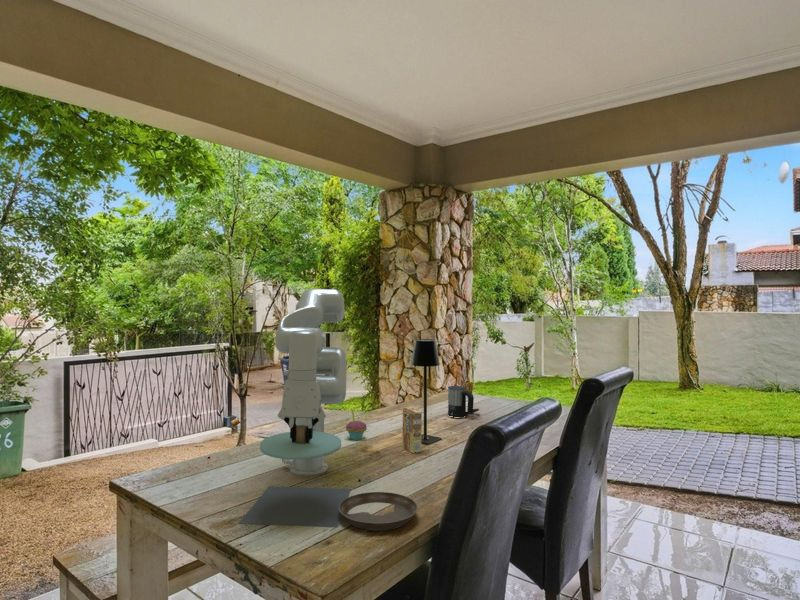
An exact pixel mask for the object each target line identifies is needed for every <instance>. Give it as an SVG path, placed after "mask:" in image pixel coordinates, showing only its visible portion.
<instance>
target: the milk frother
mask: <svg viewBox="0 0 800 600" xmlns="http://www.w3.org/2000/svg"><path fill="white" fill-rule="evenodd" d="M466 389H467V387H466V386H462V385H450V386H447V390H448V392H447V395H448V397H447V399H448V401H447V402H448V403H447V406H448V407H447V409H448V410H447V416H448V415H449V416H453V417H464V416H466V417H467V416H468V415H472V414H474V413H476V412H479V411H480V409H479V408H474V399H475V398H474V395H473V393H472V392H471V391H468V390H466ZM466 404H467V406H466ZM466 407H467V408H466Z"/></svg>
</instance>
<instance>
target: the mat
mask: <svg viewBox="0 0 800 600" xmlns="http://www.w3.org/2000/svg"><path fill="white" fill-rule="evenodd" d="M351 491H352V488H337V487H336V488H333V487H329V488H328V487H306V486H305V487H304V486H302V487H301V486H278V485H277V486H274V485H273V486H269V485H268V487H267V488H266V489H265V490H264V492H263V493H262V494H261V496H259V498H258V499H257V500H256V502H254V504H253V505H252V507H250V509H249V510H248V511H247V513H246V514H245V515H244V516H243V518H242V519H240V522H238V524H239V525H262V526H263V525H264V526H288V527H289V526H290V527H293V526H295V527H316V528H317V527H318V528H338V527H339V524H340V522H341V519H342V517H343V516H342V515H341V513H340V511H339V505H340V503H341V502H342V501H343V500H345V499H346V498H348V497H350V494H351Z"/></svg>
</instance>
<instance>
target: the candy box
mask: <svg viewBox="0 0 800 600" xmlns="http://www.w3.org/2000/svg"><path fill="white" fill-rule="evenodd" d="M422 414H423V413H422V411H420V410H418V409H415V408H413V407H404V408H403V407H402V448H403V449H405V450H407V451H408V452H410V453H412V454H416V453H421V452H422V433H423V431H422V424H423V423H422V420H423V419H422ZM415 452H416V453H415Z"/></svg>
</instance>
